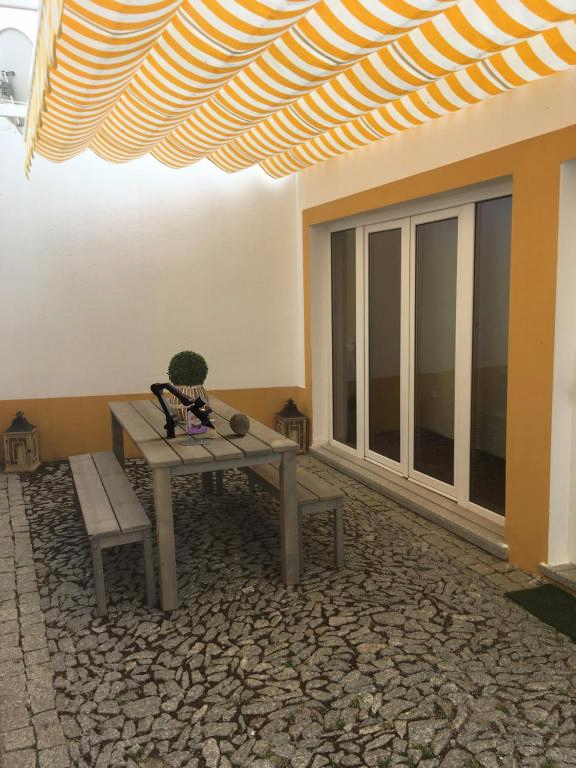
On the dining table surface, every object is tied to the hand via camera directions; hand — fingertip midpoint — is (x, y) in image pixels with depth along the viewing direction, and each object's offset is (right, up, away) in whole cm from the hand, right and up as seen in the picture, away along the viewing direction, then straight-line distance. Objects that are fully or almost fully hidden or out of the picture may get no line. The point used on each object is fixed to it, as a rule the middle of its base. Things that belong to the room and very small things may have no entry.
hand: (214, 427), depth 436 cm
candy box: (-15, -5, +17) cm, 23 cm away
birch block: (-1, -7, +1) cm, 7 cm away
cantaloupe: (+17, -6, +7) cm, 19 cm away
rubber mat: (-11, -9, -12) cm, 19 cm away
